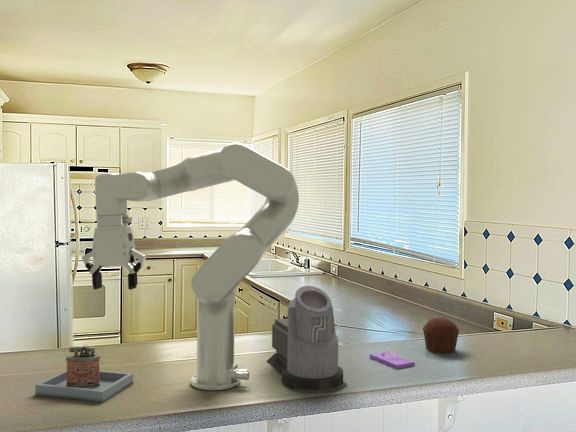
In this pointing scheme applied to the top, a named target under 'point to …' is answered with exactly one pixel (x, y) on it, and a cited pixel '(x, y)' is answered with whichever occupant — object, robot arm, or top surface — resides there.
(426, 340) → the muffin
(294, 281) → the top surface
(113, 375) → the tray
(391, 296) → the top surface
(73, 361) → the lighter
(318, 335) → the juicer
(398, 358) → the sponges
